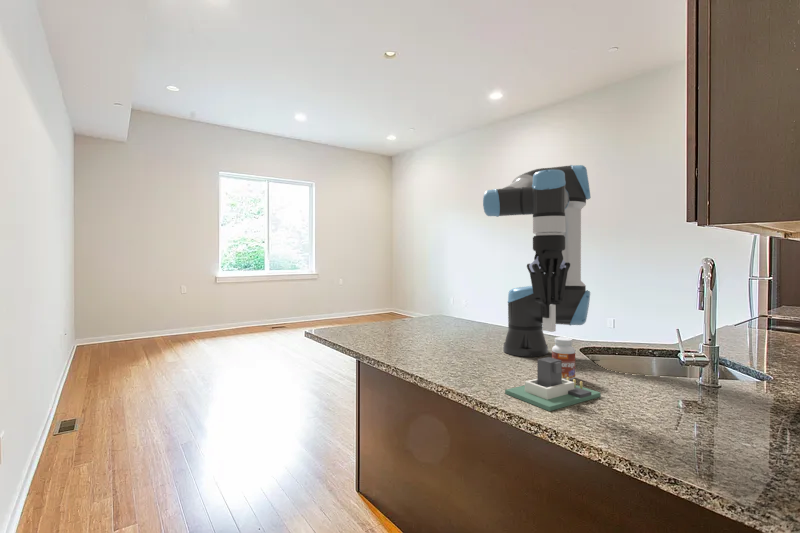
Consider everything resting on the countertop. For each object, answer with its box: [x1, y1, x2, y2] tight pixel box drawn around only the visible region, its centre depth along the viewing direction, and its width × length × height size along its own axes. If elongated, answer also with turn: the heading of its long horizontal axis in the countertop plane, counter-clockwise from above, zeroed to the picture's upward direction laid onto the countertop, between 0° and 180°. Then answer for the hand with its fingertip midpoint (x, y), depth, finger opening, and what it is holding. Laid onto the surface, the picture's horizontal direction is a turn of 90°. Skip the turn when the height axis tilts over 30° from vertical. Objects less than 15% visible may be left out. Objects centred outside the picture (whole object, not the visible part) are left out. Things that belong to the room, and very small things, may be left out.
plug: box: [536, 356, 562, 388], centre depth 105 cm, size 4×5×8 cm
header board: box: [504, 376, 602, 412], centre depth 106 cm, size 18×14×4 cm
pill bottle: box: [551, 336, 576, 381], centre depth 121 cm, size 6×6×11 cm
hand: (549, 330), depth 105 cm, fingers closed
